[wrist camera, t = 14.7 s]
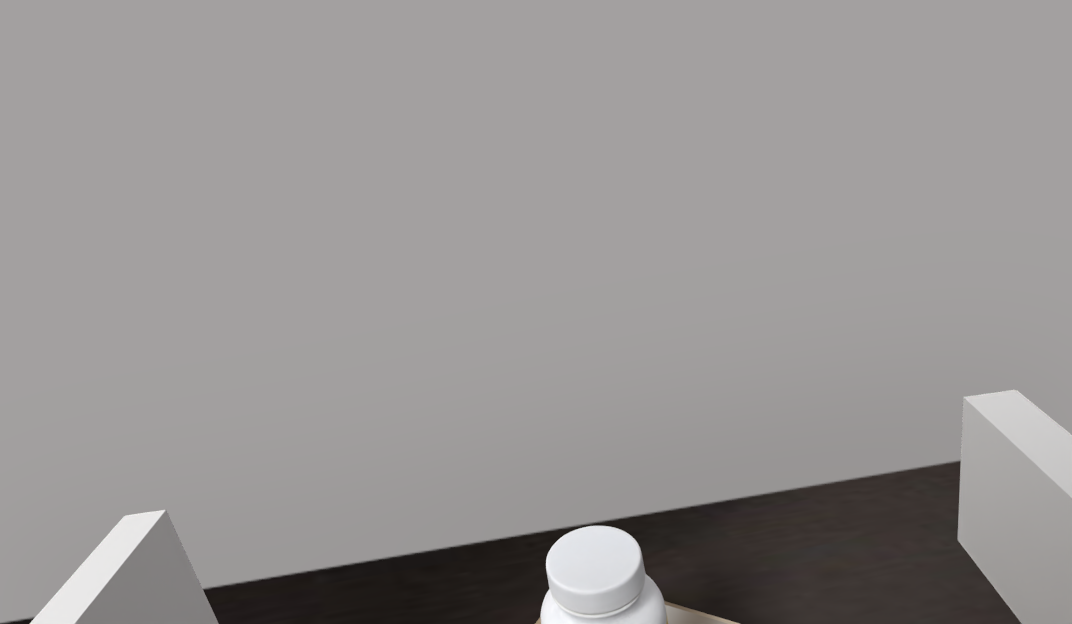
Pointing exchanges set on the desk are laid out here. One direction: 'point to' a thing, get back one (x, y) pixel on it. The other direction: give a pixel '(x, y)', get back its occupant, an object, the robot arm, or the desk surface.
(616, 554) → the supplement bottle
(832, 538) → the desk surface
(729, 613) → the desk surface
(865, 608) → the desk surface
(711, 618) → the pedestal
